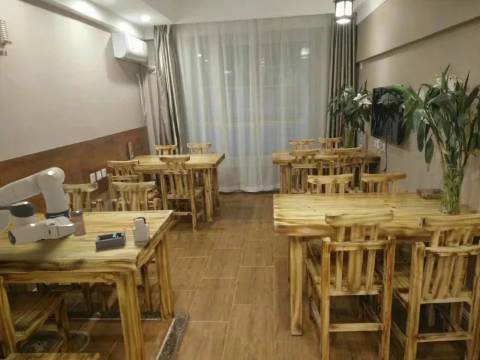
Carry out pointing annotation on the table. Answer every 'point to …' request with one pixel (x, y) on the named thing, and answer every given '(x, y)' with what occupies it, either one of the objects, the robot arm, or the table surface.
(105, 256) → the table surface
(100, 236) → the grey rectangular box
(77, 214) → the terracotta jar
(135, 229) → the medicine bottle
